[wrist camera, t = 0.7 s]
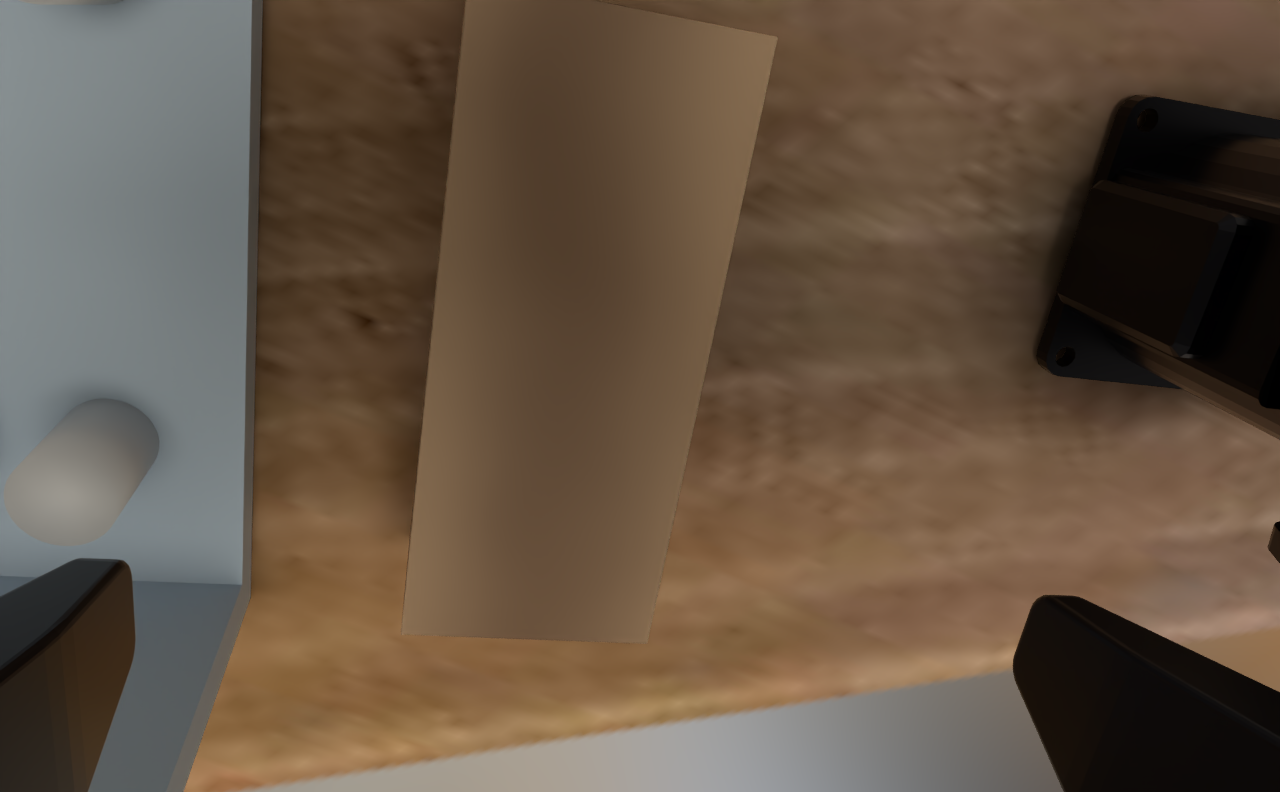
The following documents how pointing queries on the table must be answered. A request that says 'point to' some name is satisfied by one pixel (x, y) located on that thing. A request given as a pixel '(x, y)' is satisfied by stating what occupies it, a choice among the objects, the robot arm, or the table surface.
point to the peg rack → (133, 335)
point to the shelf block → (574, 311)
